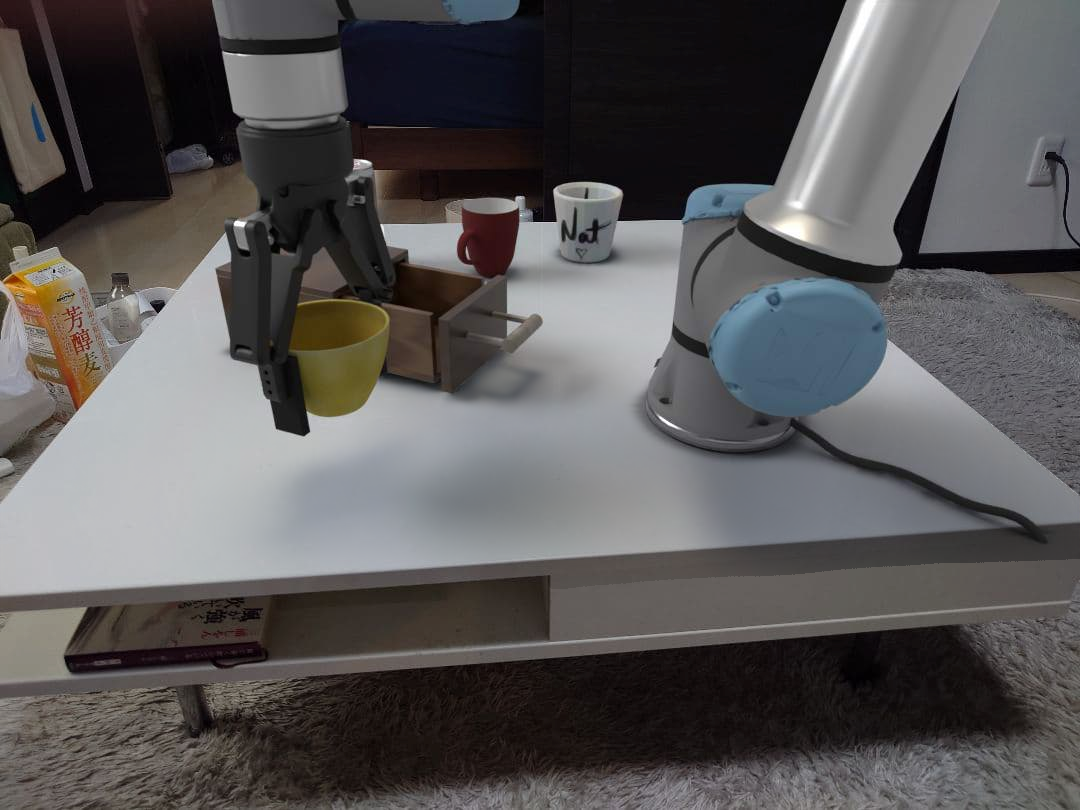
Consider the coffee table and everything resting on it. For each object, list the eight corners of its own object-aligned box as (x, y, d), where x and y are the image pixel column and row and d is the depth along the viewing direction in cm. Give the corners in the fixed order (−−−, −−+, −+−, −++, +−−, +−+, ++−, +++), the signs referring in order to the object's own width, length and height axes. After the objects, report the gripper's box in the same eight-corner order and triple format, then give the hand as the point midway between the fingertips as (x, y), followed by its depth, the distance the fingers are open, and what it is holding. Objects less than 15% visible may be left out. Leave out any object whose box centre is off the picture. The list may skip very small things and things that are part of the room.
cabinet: (413, 327, 96) (408, 249, 91) (343, 378, 85) (332, 292, 79) (311, 305, 101) (300, 230, 96) (231, 350, 90) (214, 268, 85)
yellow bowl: (385, 365, 70) (377, 291, 66) (409, 420, 62) (401, 339, 58) (269, 384, 67) (253, 307, 63) (278, 444, 59) (261, 360, 55)
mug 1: (489, 293, 106) (488, 222, 101) (442, 281, 110) (438, 212, 104) (529, 270, 114) (530, 203, 109) (484, 260, 117) (483, 194, 112)
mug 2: (547, 264, 116) (549, 197, 111) (558, 233, 129) (560, 172, 124) (616, 268, 115) (621, 201, 110) (621, 237, 128) (625, 176, 123)
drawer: (553, 352, 89) (555, 284, 85) (502, 406, 78) (501, 331, 74) (401, 320, 96) (396, 256, 91) (336, 366, 85) (326, 296, 81)
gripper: (345, 90, 63) (374, 336, 74) (114, 145, 45) (198, 459, 56) (425, 96, 60) (442, 350, 72) (213, 157, 43) (281, 483, 54)
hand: (335, 398), depth 64 cm, fingers closed on yellow bowl, 10 cm apart
